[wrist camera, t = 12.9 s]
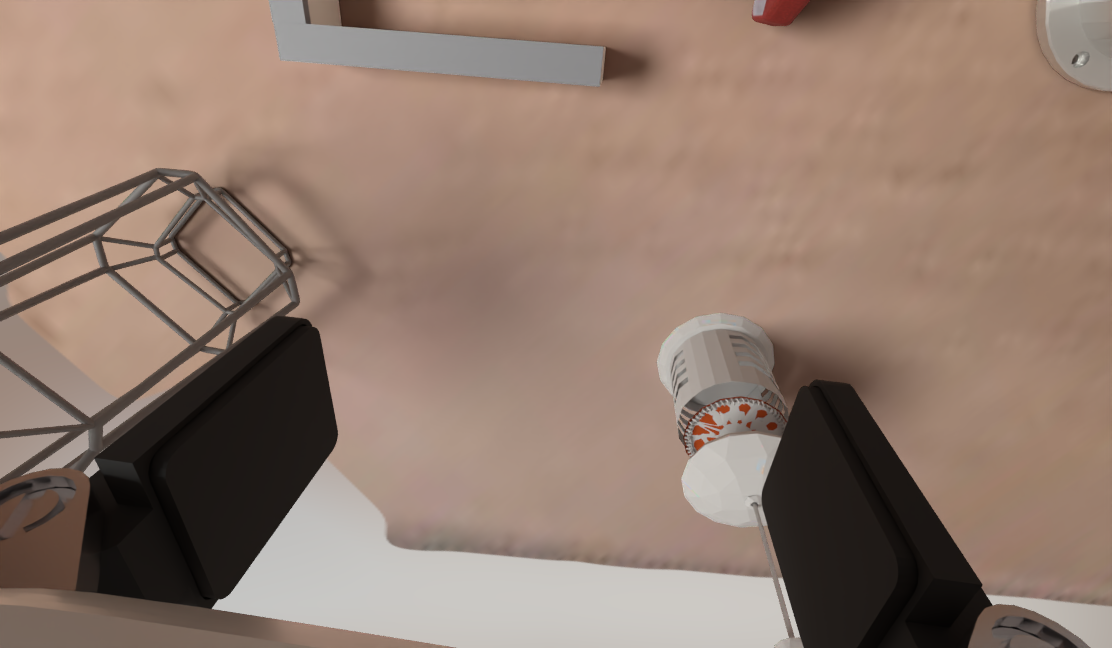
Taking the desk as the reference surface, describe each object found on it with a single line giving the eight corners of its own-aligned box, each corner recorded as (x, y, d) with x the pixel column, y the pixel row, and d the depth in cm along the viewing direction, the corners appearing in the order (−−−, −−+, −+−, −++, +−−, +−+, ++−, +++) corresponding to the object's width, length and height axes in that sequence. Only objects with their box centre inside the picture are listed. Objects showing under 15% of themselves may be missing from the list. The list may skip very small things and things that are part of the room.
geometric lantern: (211, 116, 39) (-1194, 408, 9) (360, 274, 44) (-173, 790, 14) (109, 228, 44) (-959, 646, 14) (253, 356, 50) (-294, 853, 20)
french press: (756, 296, 41) (908, 588, 19) (793, 405, 45) (949, 742, 24) (640, 335, 44) (655, 628, 22) (685, 434, 48) (735, 758, 26)
